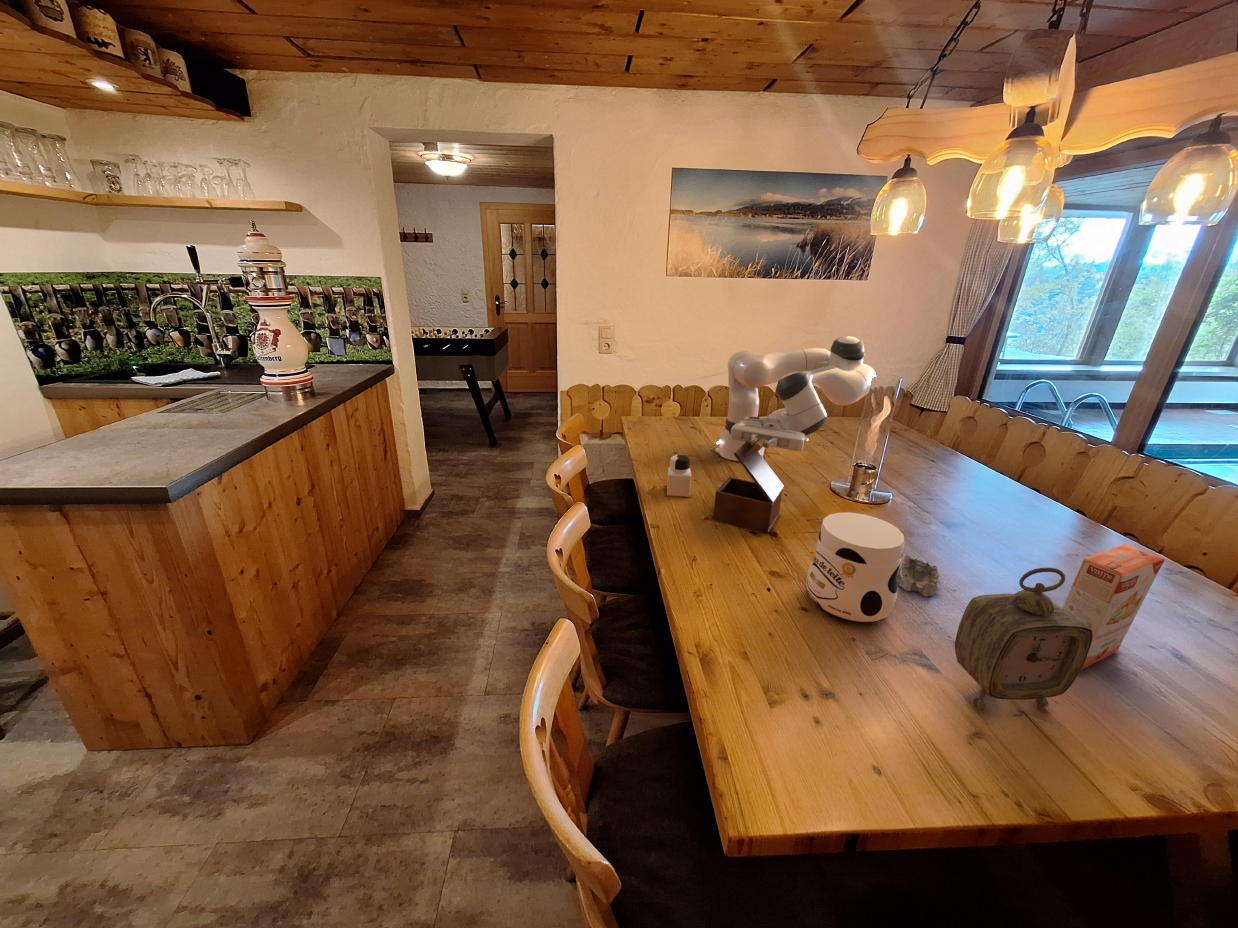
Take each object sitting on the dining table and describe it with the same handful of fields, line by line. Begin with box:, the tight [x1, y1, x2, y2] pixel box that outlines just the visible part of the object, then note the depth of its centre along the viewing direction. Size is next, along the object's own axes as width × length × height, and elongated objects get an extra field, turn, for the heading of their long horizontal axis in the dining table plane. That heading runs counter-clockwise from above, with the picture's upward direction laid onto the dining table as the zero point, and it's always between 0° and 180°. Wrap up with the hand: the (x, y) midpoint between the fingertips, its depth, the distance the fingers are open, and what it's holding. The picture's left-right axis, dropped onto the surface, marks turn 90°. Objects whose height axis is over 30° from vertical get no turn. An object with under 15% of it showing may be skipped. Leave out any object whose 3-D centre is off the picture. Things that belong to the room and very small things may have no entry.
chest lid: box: [733, 438, 785, 503], centre depth 133 cm, size 16×13×6 cm
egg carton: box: [898, 554, 940, 597], centre depth 112 cm, size 11×8×4 cm
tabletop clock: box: [954, 567, 1092, 710], centre depth 78 cm, size 14×9×25 cm, turn 93°
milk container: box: [805, 512, 905, 624], centre depth 101 cm, size 17×17×18 cm
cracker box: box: [1061, 543, 1166, 671], centre depth 88 cm, size 14×6×21 cm, turn 114°
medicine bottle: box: [666, 454, 692, 498], centre depth 155 cm, size 7×7×12 cm
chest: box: [712, 476, 784, 534], centre depth 139 cm, size 16×13×9 cm
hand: (759, 444), depth 132 cm, fingers closed on chest lid, 2 cm apart
